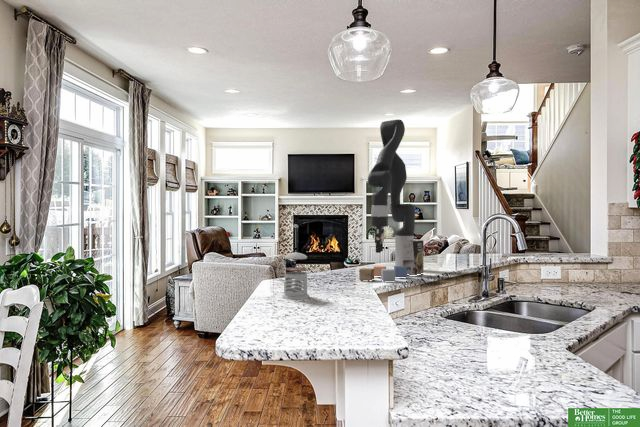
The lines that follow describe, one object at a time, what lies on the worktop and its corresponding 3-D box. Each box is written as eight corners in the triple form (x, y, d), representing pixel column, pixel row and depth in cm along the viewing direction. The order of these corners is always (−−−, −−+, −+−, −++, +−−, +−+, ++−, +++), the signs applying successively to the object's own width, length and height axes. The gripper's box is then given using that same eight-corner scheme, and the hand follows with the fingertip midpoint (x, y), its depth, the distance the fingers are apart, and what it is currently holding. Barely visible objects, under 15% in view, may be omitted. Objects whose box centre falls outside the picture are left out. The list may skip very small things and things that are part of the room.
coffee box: (415, 277, 201) (415, 241, 201) (402, 276, 205) (402, 240, 205) (424, 274, 208) (424, 240, 208) (411, 273, 212) (411, 239, 212)
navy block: (394, 277, 202) (393, 266, 202) (405, 277, 201) (405, 266, 201) (395, 278, 197) (395, 267, 197) (406, 278, 196) (406, 267, 196)
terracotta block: (374, 276, 204) (374, 265, 204) (386, 276, 203) (385, 265, 203) (373, 278, 199) (373, 266, 199) (385, 278, 198) (385, 267, 198)
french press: (306, 299, 149) (306, 224, 149) (273, 298, 151) (272, 224, 151) (312, 294, 159) (312, 224, 159) (281, 293, 161) (281, 223, 161)
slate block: (381, 280, 192) (381, 268, 192) (392, 280, 192) (392, 268, 192) (383, 282, 187) (383, 270, 187) (395, 282, 187) (395, 270, 187)
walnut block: (362, 279, 195) (362, 268, 195) (373, 280, 193) (373, 268, 193) (359, 281, 190) (359, 269, 190) (370, 281, 188) (370, 270, 188)
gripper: (373, 215, 209) (372, 250, 209) (369, 215, 195) (368, 252, 195) (389, 216, 207) (389, 251, 207) (386, 215, 193) (386, 253, 193)
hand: (379, 251), depth 201 cm, fingers open, 8 cm apart
